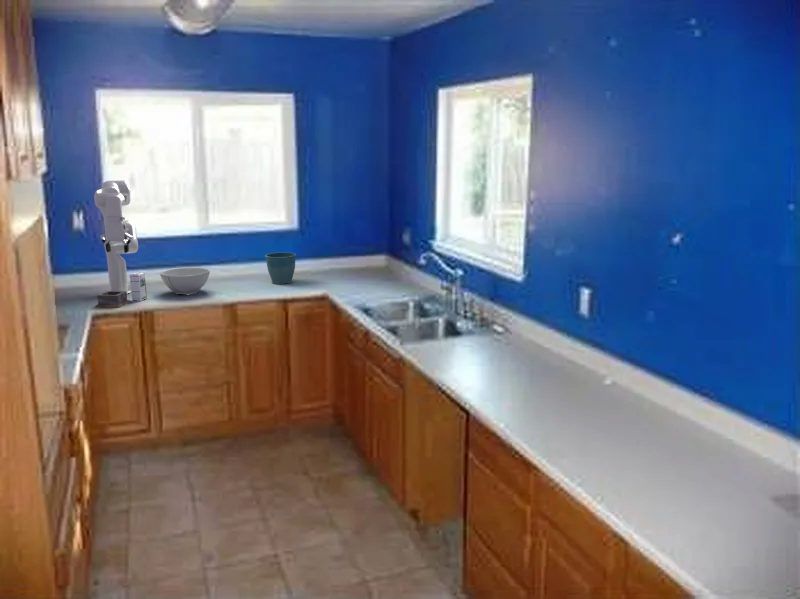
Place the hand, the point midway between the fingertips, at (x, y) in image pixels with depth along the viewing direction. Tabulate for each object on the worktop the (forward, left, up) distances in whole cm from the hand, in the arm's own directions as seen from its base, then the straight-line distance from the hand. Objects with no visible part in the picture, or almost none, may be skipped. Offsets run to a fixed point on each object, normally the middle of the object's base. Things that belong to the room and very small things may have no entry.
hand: (117, 252), depth 374 cm
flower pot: (-60, +72, -28) cm, 97 cm away
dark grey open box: (+3, -3, -27) cm, 28 cm away
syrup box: (-9, +6, -28) cm, 29 cm away
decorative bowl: (-28, +25, -28) cm, 46 cm away
